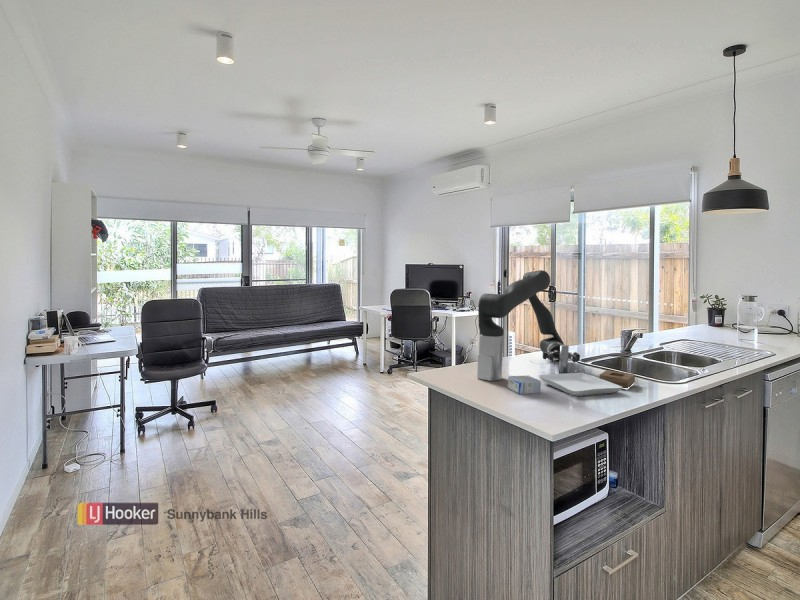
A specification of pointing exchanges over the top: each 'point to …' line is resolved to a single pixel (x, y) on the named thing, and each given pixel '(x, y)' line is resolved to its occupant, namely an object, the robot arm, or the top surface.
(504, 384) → the top surface
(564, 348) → the tall pin
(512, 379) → the medicine box
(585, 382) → the salad plate
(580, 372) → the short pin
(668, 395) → the top surface
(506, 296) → the robot arm
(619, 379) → the hole block
